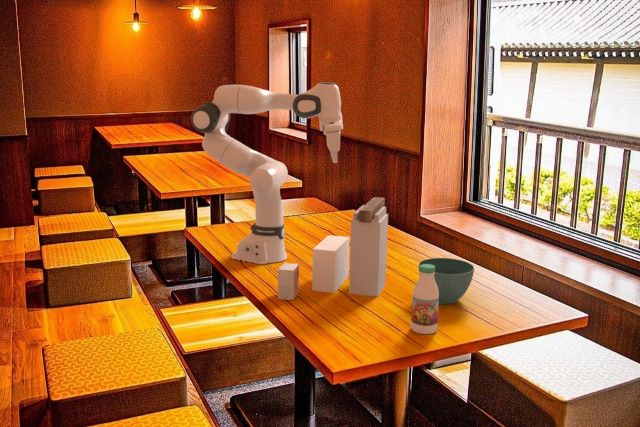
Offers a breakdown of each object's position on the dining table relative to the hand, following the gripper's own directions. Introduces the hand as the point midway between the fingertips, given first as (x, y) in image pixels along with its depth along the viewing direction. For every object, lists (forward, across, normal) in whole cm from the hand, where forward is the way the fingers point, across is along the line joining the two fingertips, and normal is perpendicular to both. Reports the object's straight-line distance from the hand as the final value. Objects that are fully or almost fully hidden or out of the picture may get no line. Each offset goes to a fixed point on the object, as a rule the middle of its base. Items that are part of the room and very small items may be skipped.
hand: (334, 161), depth 253 cm
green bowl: (+46, +41, +31) cm, 68 cm away
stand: (+42, +29, +6) cm, 52 cm away
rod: (+17, +27, +10) cm, 33 cm away
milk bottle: (+45, +66, +19) cm, 82 cm away
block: (+41, +23, -6) cm, 47 cm away
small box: (+40, +37, -22) cm, 58 cm away
